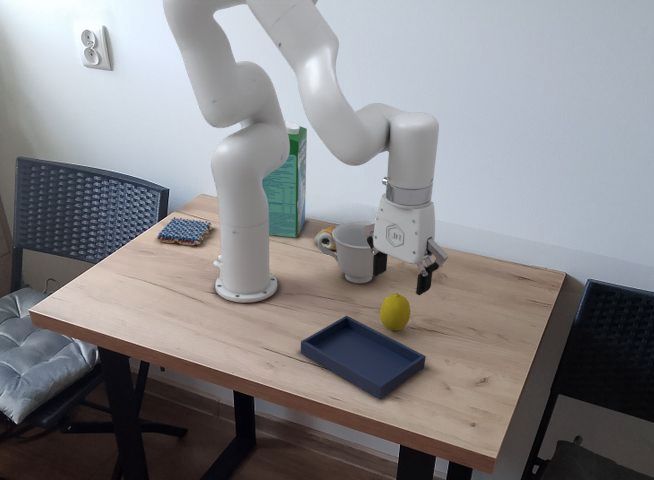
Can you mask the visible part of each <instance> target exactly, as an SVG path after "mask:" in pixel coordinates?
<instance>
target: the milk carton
mask: <svg viewBox="0 0 654 480" xmlns="http://www.w3.org/2000/svg"><path fill="white" fill-rule="evenodd" d="M284 122H285V125H286V129H287V132H288V136H289V142H290V152H289V156H288V158H287V160H286V162H285V163H284V164H283V165H282V166H281V167H279V168H278V169H277V170H275V171H273V172H272V173H270V174H269V175H267V176H266V177H265V178H263V180H262V186H263V189H264V192H265V194H266V197H267V200H268V209H269V236H277V237H278V236H279V237H287V238H296V239H297V238H298V236H299V235H300V233H301V230H302V228H303V227H304V225H305V223H306V193H307V192H306V190H307V187H306V186H307V183H306V182H307V146H308V145H307V143H308V142H307V140H308V139H307V137H308V136H307V135H308V134H307V132H308V130H307V129H308V128H306V127H304V126H300V125H299V124H297V123H295V122H292V121H287V120H284Z"/></svg>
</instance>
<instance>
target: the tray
mask: <svg viewBox="0 0 654 480" xmlns="http://www.w3.org/2000/svg"><path fill="white" fill-rule="evenodd" d="M300 354H301V355H303V356H305V357H307V358H308V359H310V360H312V361H313V362H315V363H317V364H319V365H320V366H321V367H324V368H325V369H327V370H328V371H331V372H332V373H334V374H336V375H337V376H339V377H341V378H342V379H344V380H345V381H348V382H350V383H351V384H353V385H355V386H356V387H358V388H359V389H361V390H364V391H365V392H367V393H368V394H370V395H371V396H373V397H375V398H377V399H379V400H381V399H382V398H384V397H385V396H387V395H388V394H390V393H391V392H392V391H394V390H395V389H397V388H398V387H400V386H401V385H402V384H404V383H406V382H407V381H408V380H409V379H411V378H412V377H414V376H415V375H416V374H418V373H419V372H421V371H422V370H423V369H425V365H426V357H427V356H426V355H425V354H422V353H421V352H419V351H417V350H415V349H413V348H410V347H409V346H407V345H406V344H403V343H401V342H400V341H397V340H395V339H393V338H391V337H389V336H387V335H385V334H384V333H381V331H378V330H375V328H374V329H373V328H372V327H370V326H368V325H366V324H364V323H362V322H360V321H358V320H356V319H354V318H353V317H350V316H348V315H345V316H343V317H341V318H340V319H338V320H336V321H334V322H333V323H331V324H329V325H327V326H326V327H325V326H324V327H323V328H322V329H320V330H318V331H317V332H314V333H313V334H311V335H309V336H308V337H306V338H304V339H302V340H301V341H300Z"/></svg>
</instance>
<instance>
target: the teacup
mask: <svg viewBox="0 0 654 480" xmlns="http://www.w3.org/2000/svg"><path fill="white" fill-rule="evenodd" d="M372 223H373V222H369V221H362V220H361V221H360V220H359V221H357V220H356V221H348V222H344V223H341V224H339V225H336V226H335V227H336V228H335V229H334V230H333V232H332V236H333V238H334V239H333V240H332V236H331V234H329V233H322V234H321V235H320V236H319V237H318V242H316V244H317V243H318V244H317V247H318V249H319V251H321V253H323V254H325V255H327V256H330V257H332V258H333V259H334V260H335V261H336V262H337V265H338V268H339V269H340V271H341V272H342V273H343V274H344V277H345V279H346V280H347V281H348V282H351V283H354V284H365V283H369V282H371V281H372V279H373V276H374V275H373V258H374V255H372V254H371V248H370V246H369V244H368V243H367V237H366V234H365V231H364V226H366V225H368V224H372ZM324 238H328V239H329V240H330V243H331V244H333V243H336V250H335V251H336V253H335V252H334V251H332V250H331V249H328V248H326V247H324V246H323V245H322V243H321V242H322V240H323V239H324Z"/></svg>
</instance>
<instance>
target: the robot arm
mask: <svg viewBox="0 0 654 480" xmlns="http://www.w3.org/2000/svg"><path fill="white" fill-rule="evenodd" d="M318 1H319V0H162V7H163V13H164V16H165V19H166V22H167V25H168V27H169V29H170V32H171V34H172V36H173V38H174V40H175V43H176V45H177V47H178V50H179V52H180V55H181V57H182V61H183V64H184V67H185V70H186V73H187V76H188V79H189V81H190V85H191V87H192V91H193V94H194V96H195V99H196V102H197V105H198V108H199V111H200V113H201V115H202V117H203V119H204V120H205V122H206V123H207V124H208V125H209V126H211V127H212V128H216V129H226V128H229V127H232V126H234V125H237V124H239V125H240V128H241V129H238V130H237V131H235V132H232V133H231V134H229V135H227V136H226V137H224V138H222V139H221V140H220V141H219V142H218V143H217V144H216V145H215V147H214V149H213V150H212V152H211V157H210V169H211V175H212V178H213V182H214V187H215V192H216V197H217V208H218V222H219V223H218V225H219V238H220V239H219V241H220V253H219V255H217V260H214V261H213V263H212V267H214V268H216V269H218V270H219V276H218V277H217V278H216V280H215V282H214V283H215V284H214V286H215V291H216V293H217V294H218V295H219V297H221V298H223V299H225V300H227V301H229V302H235V303H245V304H246V303H247V304H249V303H256V302H260V301H265V300H267V299H268V298H270V297H272V296H273V295H274V294H275V293H276V291H277V290H278V279H277V278H276V276H275V275H273V274H272V273H270V235H269V209H268V200H267V197H266V194H265V192H264V189H263V186H262V180H263V178H265V177H266V176H267V175H269V174H270V173H272V172H273V171H275V170H277V169H278V168H279V167H281V166H282V165H283V164H284V163H285V162H286V160H287V158H288V156H289V152H290V142H289V136H288V132H287V129H286V125H285V122H284V121H285V119H284V115H283V112H282V109H281V105H280V102H279V99H278V95H277V92H276V88H275V86H274V83H273V81H272V79H271V77H270V75H269V74H268V73H267V71H266V70H265V69H264V68H263V67H262V66H260V65H259V64H257V63H255V62H253V61H250V60H242V61H237V62H236V59H235V57H234V53H233V50H232V46H231V43H230V41H229V40H230V39H229V38H228V36H227V34H226V32H225V30H224V29H223V28H222V26H221V25H220V24H219V23H218V21H217V20H216V19H215V18H214V14H215V13H216V12H217V11H221V10H225V9H229V8H234V7H236V6H241V5H247V6H248V9H249V10H250V12H251V13H252V15H253V16H254V18H255V19H256V21H257V22H258V23H259V24H260V26H261V27H262V29H263V30H264V32H265V33H266V35H267V36H268V37H269V39H270V40H271V41H272V43H273V44H274V45H275V47H276V48H277V50H278V51H279V53H280V54H281V55H282V57H283V58H284V60H285V61H286V62H287V64H288V66H289V67H290V69H292V71H293V73H294V74H295V76H296V81H297V86H298V87H297V88H298V93H299V97H300V100H301V104H302V108H303V110H304V113H305V116H306V119H307V120H308V122H309V125H310V126H311V127H312V129H313V130H314V132H315V133H316V135H317V137H318V138H319V139H320V140H321V141H322V143H323V144H324V146H325V147H326V148H327V150H328V151H329V152H330V153H331V154H332V156H334V157H335V158H336V159H337V160H338V161H340V162H341V163H343V164H345V165H347V166H350V167H351V166H353V167H357V166H362V165H365V164H366V163H368V162H370V161H371V160H372V159H373V158H376V156H378V155H379V154H381V153H384V152H388V159H387V172H386V174H387V175H386V176H384V177H383V178H382V180H381V183H382V185H384V186H385V193H383V194H382V195H381V197H380V200H379V204H378V207H377V211H376V215H375V220H374V221H375V222H371V223H372V224H368V225H366V226H364V231H365V234H366V237H367V243H368V244H369V246H370V248H371V254H372V255H374V258H373V275H372V276H374V277H378V276H379V275H382V274H383V273H385V272H387V267H388V256H389V257H393V258H395V259H397V260H399V261H402V262H405V263H408V264H410V265H416V266H417V268H418V270H419V272H420V273H419V274H417V278H416V289H415V294H416V295H417V296H421V295H423V294H425V293H427V292H428V291H429V290H430V289H431V286H432V279H433V273H434V272H435V271H437V270H439V269H441V268H442V267H443V266H444V263H446V261H447V260H448V259H449V254H448V253H447V252H446V251H445V250H444V249H443V248H442V247H441V246H440V245H439V244H438V243H437V242H436V241H435V239H436V211H435V203H434V202H433V201H432V196H433V188H434V178H435V177H434V176H435V170H436V169H435V168H436V159H437V150H438V141H439V132H440V124H439V123H440V122H439V121H438V119H437V118H436V117H435V116H433V115H431V114H429V113H426V112H420V111H406V110H404V109H403V110H402V109H400V108H397V107H394V106H391V105H388V104H385V103H380V102H372V103H369V104H366V105H365V106H363V107H361V108H359V109H357V110H356V111H355V110H354V108H353V107H352V106H351V104H350V103H349V101H348V99H347V98H346V97H345V95H344V93H343V91H342V88H341V87H340V84H339V81H338V77H337V70H336V69H337V59H338V54H339V48H340V40H339V37H338V36H337V35H336V33H335V32H334V31H333V29H332V27H331V26H330V25H329V23H328V22H327V20H326V19H325V17H324V16H323V15H322V14H321V12H320V10H319V9H318V7H317V6H316V5H317V3H318ZM432 256H434V259H435V260H433V258H432Z"/></svg>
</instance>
